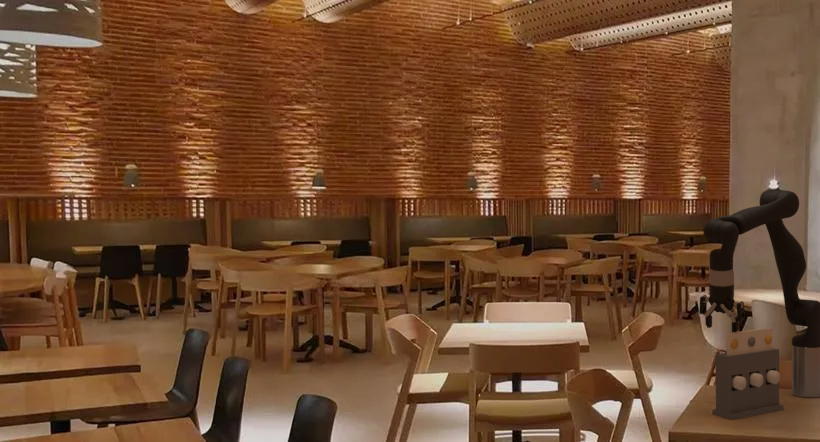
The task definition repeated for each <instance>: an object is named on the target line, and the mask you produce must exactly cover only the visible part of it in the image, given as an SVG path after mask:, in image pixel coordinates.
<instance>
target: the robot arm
mask: <svg viewBox="0 0 820 442" xmlns="http://www.w3.org/2000/svg"><path fill="white" fill-rule="evenodd" d="M759 197H760V198H759V205H756V206H752V207H747V208H743V209H741V210H739V211H736V212H734V213H732V214H730V215H724V216H719V217H715V218H712V219H710V220H708V221H706V224H705V225H704V226H703V236H704V237H705V239H706V240H708V241H710V242H713V243H719V244H721V247H720V248H714V249H712V250H710V252H709V272H708V295H709V296H707V294H704V295H702V296H700V298H699V309H698V310H699V312H698V313H699V314H700V315H703V316H704V317H705V318H704V319H705V321H704V322H705V326H706V328H708V329H711V328H712V327H713V315H712V314H713V313H714V312H715V313H721V314H726V316H727V317H729V318H730V320H731V333H733V332H739V330H740V329H739V323H740V322H742V321H744V320H745V319H746V315H745V302H744V301H743V300H742V301H740V302H739V301H735V273H734V253H735V250H736V247H737V243H738V240H739V236H740V235H743V234H745V233H747V232H750V231H752V230H754V229H756V228H759V227H761V226H764V225H765V227H766V230H767V233H768V236H769V239H770V243H771V247H772V250H773V256H774V261H775V266H776V267H777V271H778V276H779V279H780V280H779V281H780V284H781V287H782V294H783V303H784V307H785V314H786V318H787V320H788V322H789V323H790V324H791V325H794V326H802V327H806V331H805V332H804V333H802V334H798V335H797V334H796V335H795V336H792V338H791V394H792V395H793V396H795V397H801V398H820V301H819V300H815V299H803V298H800V297H799V293H798V287H799V284H800V282H801V281H802V278H803V277H804V274H805V273H806V269H807V261H806V257H805V253H804V249H803V247H802V245H801V244H800V242H799V241H798V240H797V239H796V237H795V236H794V235H793V234H792V233H791V232H790V231H789V230H788V229H787V227H786V225H785V224H784V221H783V219H788V218H789V219H790V218H792V217H794V216H795V215H796V214H797V213H798V211H799V207H800V199H799V197H798V195H797V193H795V192H794V191H791V190H784V189H782V190H781V189H779V190H778V189H768V190H765V191H762V193H761V194H760V196H759ZM708 303H709V304H710V306H709V308H708V309H707V307H708V306H707V305H708Z"/></svg>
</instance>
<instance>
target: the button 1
mask: <svg viewBox="0 0 820 442" xmlns="http://www.w3.org/2000/svg"><path fill="white" fill-rule="evenodd" d="M745 387H746V379H745V378H744V377H742V376H737V375H733V376H732V388H734V389H738V390H743V389H744V388H745Z"/></svg>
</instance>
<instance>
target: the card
mask: <svg viewBox="0 0 820 442" xmlns="http://www.w3.org/2000/svg"><path fill="white" fill-rule="evenodd" d="M773 348H774V328H773V327H767V328H766V327H764V328H759V329H758V328H757V329H750V330H742V331H737V332H733V333H732V332H727V333H726V352H727V356H731V355H738V354H745V353H751V352H758V351H765V350H771V349H773Z"/></svg>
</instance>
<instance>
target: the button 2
mask: <svg viewBox="0 0 820 442" xmlns="http://www.w3.org/2000/svg"><path fill="white" fill-rule="evenodd" d="M780 380H781V374H780V371H779V372H778V371H774V370H769V369H768V370H766V382H768V383H772V384H777V383H778V382H779V383H780Z"/></svg>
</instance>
